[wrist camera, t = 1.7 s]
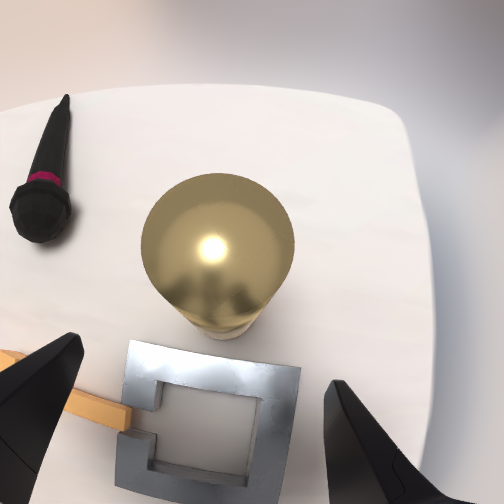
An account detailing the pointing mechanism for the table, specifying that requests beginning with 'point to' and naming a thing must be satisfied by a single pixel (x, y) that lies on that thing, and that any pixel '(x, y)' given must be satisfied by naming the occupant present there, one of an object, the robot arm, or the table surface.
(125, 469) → the frame
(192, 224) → the ball
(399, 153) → the table surface
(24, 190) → the microphone
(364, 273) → the table surface
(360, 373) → the table surface
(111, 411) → the pin
